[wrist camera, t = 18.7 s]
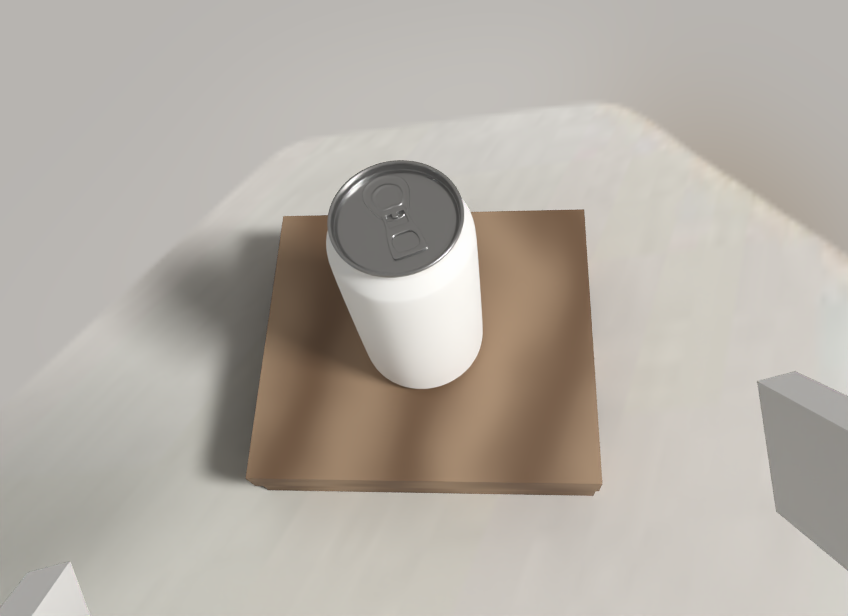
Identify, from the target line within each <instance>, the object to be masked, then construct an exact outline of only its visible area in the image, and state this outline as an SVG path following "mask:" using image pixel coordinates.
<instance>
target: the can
mask: <svg viewBox="0 0 848 616" xmlns="http://www.w3.org/2000/svg"><path fill="white" fill-rule="evenodd" d="M327 227H328V231H327V237H326V250H327V256H328V260H329V264H330V266H331V269H332V272H333V275H334V277H335V279H336V282H337V284H338V287H339V289H340V291H341V294H342V296H343V299H344V301H345V303H346V306H347V308H348V310H349V313H350V315H351V317H352V320H353V322H354V324H355V326H356V329H357V331H358V333H359V336H360V338H361V340H362V343H363V345H364V347H365V349H366V351H367V354H368V356H369V358H370V360H371V361H372V363H373V364H374V366H375V367H376V369H377V370H378V371H379V372H380V373H381V374H382V375H383V376H385V377H386V378H387V379H389V380H390V381H392V382H394V383H396V384H398V385H401V386H404V387H408V388H414V389H428V388H435V387H439V386H442V385H445V384H447V383H449V382H451V381H453V380H455V379H456V378H458V377H459V376H461V375H462V374H463V373H464V372H465V371H466V370H467V369H468V368H469V367H470V366H471V365H472V363H473V362H474V360H475V358H476V357H477V355H478V352H479V350H480V347H481V342H482V335H483V325H482V307H481V292H480V277H479V263H478V250H477V239H476V231H475V225H474V221H473V218H472V215H471V212H470V210H469V208H468V206H467V205H466V203H465V202H464V200H463V199H462V198H461V196H460V193H459V191H458V190H457V188H456V186H455V185H454V184H453V182H452V181H451V180H450V179H449V178H448V177H447V176H446V175H444V174H443V173H442V172H440V171H439V170H437V169H435V168H433V167H431V166H429V165H426V164H423V163H419V162H414V161H404V160H398V161H388V162H383V163H379V164H376V165H373V166H370V167H368V168H366V169H364V170H362V171H360V172H359V173H357V174H356V175H354V176H353V177H351V178H350V179H349V180H348V181H347V182H346V183H345V184H344V185H343V186H342V187H341V188H340V190H339V191H338V192H337V194H336V195H335V197H334V199H333V201H332V203H331V206H330V209H329V213H328V220H327Z"/></svg>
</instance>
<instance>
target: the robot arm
mask: <svg viewBox="0 0 848 616" xmlns="http://www.w3.org/2000/svg"><path fill="white" fill-rule="evenodd" d="M757 383H758V390H759V397H760V404H761V411H762V418H763V425H764V432H765V439H766V445H767V452H768V459H769V466H770V473H771V480H772V487H773V494H774V501H775V507H776V512H777V513H779V514H780V515H781V516H782V517H784V518H785V519H786V520H787V521H788V522H790V523H791V524H792V525H793V526H794V527H796V528H797V529H798V530H799V531H800V532H802V533H803V534H804V535H805V536H807V537H808V538H809V539H810V540H811V541H813V542H814V543H815V544H816V545H817V546H819V547H820V548H821V549H822V550H823V551H825V552H826V553H827V554H828V555H830V556H831V557H832V558H833V559H834V560H836V561H837V562H838V563H839V564H840V565H842V566H843V567H844V568H845V569H846V570H848V396H847V395H844V394H842V393H840V392H838V391H836V390H834V389H832V388H830V387H828V386H825V385H823V384H821V383H819V382H817V381H815V380H813V379H811V378H809V377H807V376H804V375H802V374H800V373H798V372H796V371H794V372H791V373H787V374H783V375H779V376H775V377H771V378H768V379H764V380H760V381H757ZM0 616H90V613H89V610H88V608H87V605H86V602H85V600H84V597H83V594H82V592H81V589H80V586H79V583H78V581H77V578H76V575H75V573H74V570H73V567H72V565H71V562H70V561H69V562H65V563H61V564H57V565H53V566H50V567H46V568H42V569H38V570H34V571H30V572H28V573H27V574H26V575H25V577H24V578H23V579H22V581H21V582H20V583H19V584H18V586H17V587H16V588H15V589H14V591H13V592H12V593H11V595H10V596H9V597H8V598H7V600H6V601H5V602H4V604H3V605H2V606H1V607H0Z"/></svg>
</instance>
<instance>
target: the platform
mask: <svg viewBox="0 0 848 616" xmlns="http://www.w3.org/2000/svg"><path fill="white" fill-rule="evenodd" d="M471 215H472V218H473V221H474V225H475V231H476V239H477V250H478V263H479V277H480V292H481V307H482V325H483V335H482V342H481V347H480V350H479V352H478V355H477V357H476V358H475V360H474V362H473V363H472V365H471V366H470V367H469V368H468V369H467V370H466V371H465V372H464V373H463V374H462V375H461V376H459V377H458V378H456V379H455V380H453V381H451V382H449V383H447V384H445V385H442V386H439V387H435V388H428V389H414V388H408V387H404V386H401V385H398V384H396V383H394V382H392V381H390V380H389V379H387V378H386V377H385V376H383V375H382V374H381V373H380V372H379V371H378V370H377V369H376V367H375V366H374V364H373V363H372V361H371V360H370V358H369V356H368V354H367V351H366V349H365V347H364V345H363V343H362V340H361V338H360V336H359V333H358V331H357V329H356V326H355V324H354V322H353V320H352V317H351V315H350V313H349V310H348V308H347V306H346V303H345V301H344V299H343V296H342V294H341V291H340V289H339V287H338V284H337V282H336V279H335V277H334V275H333V272H332V269H331V266H330V264H329V260H328V256H327V250H326V237H327V231H328V227H327V220H328V215H321V216H283V223H282V230H281V237H280V243H279V250H278V257H277V264H276V271H275V278H274V285H273V292H272V299H271V306H270V313H269V320H268V327H267V333H266V340H265V347H264V354H263V361H262V368H261V375H260V382H259V389H258V396H257V403H256V410H255V417H254V423H253V430H252V437H251V444H250V451H249V458H248V465H247V472H246V479H247V480H248V481H250V482H251V483H252V484H254V485H255V486H264V487H265V488H267V489H268V490H295V491H353V492H411V493H469V494H527V495H586V496H594V493H595V491H599V490H600V488H601V485H602V473H601V457H600V442H599V427H598V412H597V397H596V382H595V367H594V352H593V337H592V322H591V307H590V292H589V277H588V262H587V247H586V231H585V216H584V210H541V211H497V212H471Z"/></svg>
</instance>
